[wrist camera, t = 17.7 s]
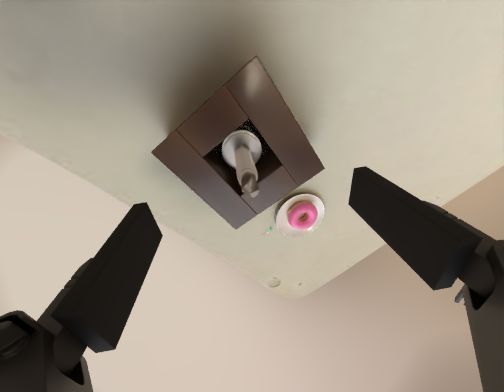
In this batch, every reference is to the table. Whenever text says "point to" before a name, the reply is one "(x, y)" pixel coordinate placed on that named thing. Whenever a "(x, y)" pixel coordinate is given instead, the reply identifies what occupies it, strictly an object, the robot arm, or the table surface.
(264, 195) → the holder
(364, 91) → the table surface
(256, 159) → the screw
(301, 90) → the table surface
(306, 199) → the donut
